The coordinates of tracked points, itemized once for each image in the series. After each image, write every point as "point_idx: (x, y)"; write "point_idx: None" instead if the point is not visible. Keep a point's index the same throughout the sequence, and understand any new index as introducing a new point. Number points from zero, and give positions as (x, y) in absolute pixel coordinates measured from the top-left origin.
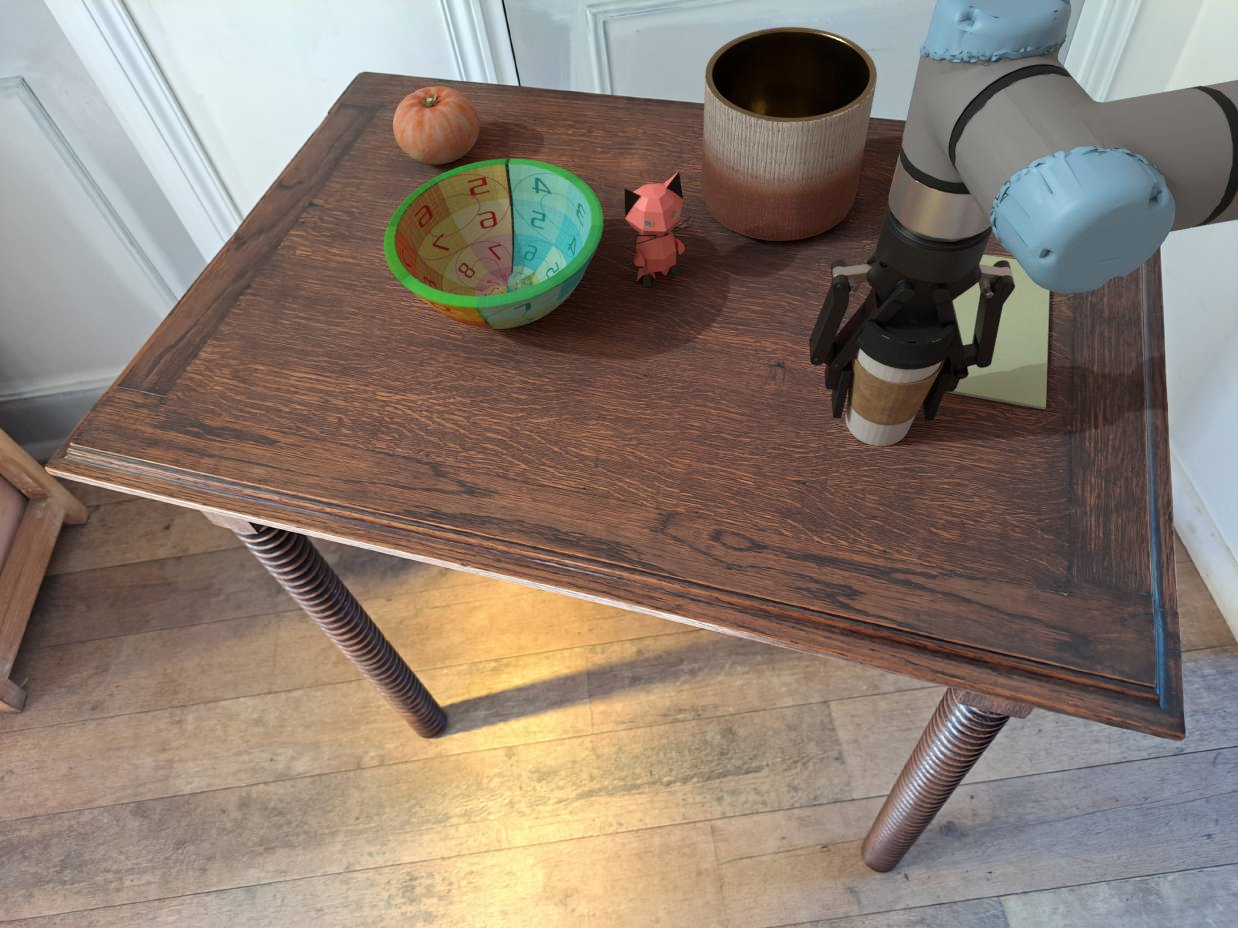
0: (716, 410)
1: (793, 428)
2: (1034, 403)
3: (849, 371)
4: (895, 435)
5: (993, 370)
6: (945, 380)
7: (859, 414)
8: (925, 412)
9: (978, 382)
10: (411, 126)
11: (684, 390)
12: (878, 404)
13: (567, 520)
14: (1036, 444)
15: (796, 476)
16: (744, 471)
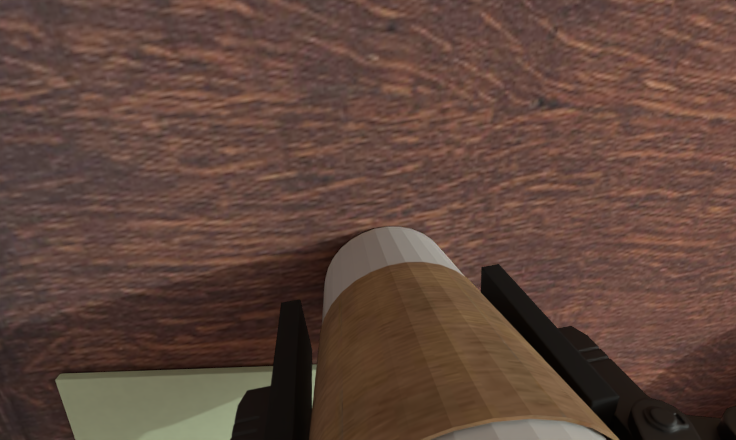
0: (672, 245)
1: (543, 234)
2: (81, 382)
3: (599, 404)
4: (361, 250)
5: (179, 426)
6: (275, 438)
7: (467, 278)
8: (302, 318)
9: (202, 398)
10: None
11: (714, 273)
12: (470, 311)
13: None
14: (52, 296)
15: (554, 119)
16: (656, 113)
